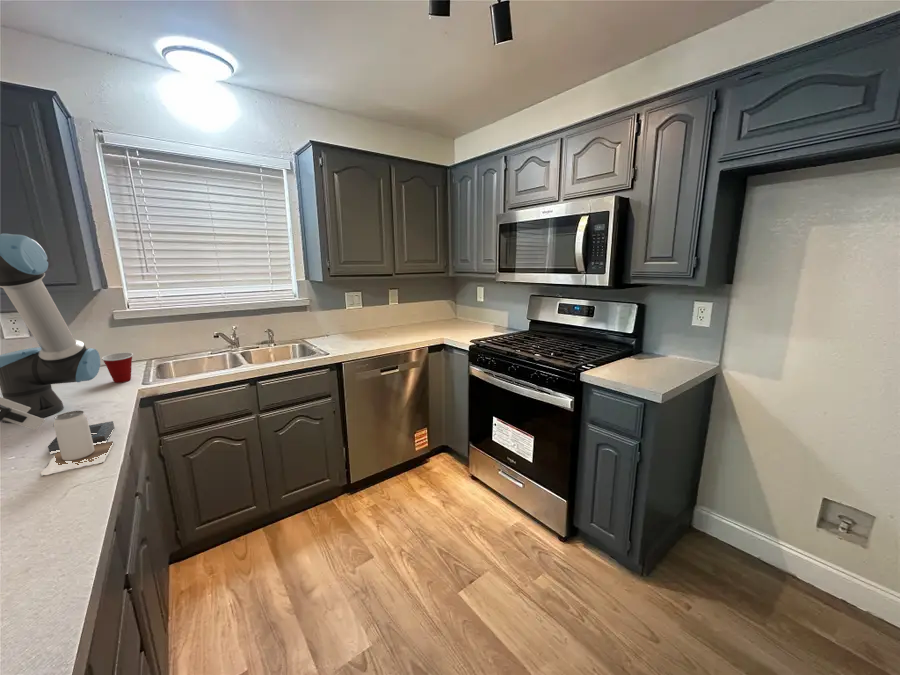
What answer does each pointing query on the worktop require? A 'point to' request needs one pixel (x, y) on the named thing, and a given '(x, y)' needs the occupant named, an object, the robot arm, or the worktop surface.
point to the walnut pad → (98, 451)
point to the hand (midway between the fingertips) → (33, 418)
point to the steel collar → (102, 435)
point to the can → (73, 435)
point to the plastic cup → (119, 366)
